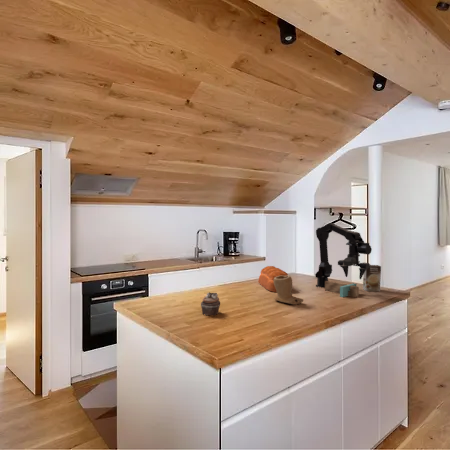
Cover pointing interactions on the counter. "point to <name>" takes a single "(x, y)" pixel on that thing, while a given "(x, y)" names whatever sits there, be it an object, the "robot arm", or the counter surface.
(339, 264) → the robot arm
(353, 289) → the rail
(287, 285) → the brown hollow boot-shaped piece
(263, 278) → the bread
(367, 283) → the coffee box
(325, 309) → the counter surface
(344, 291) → the crossbar
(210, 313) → the cupcake
